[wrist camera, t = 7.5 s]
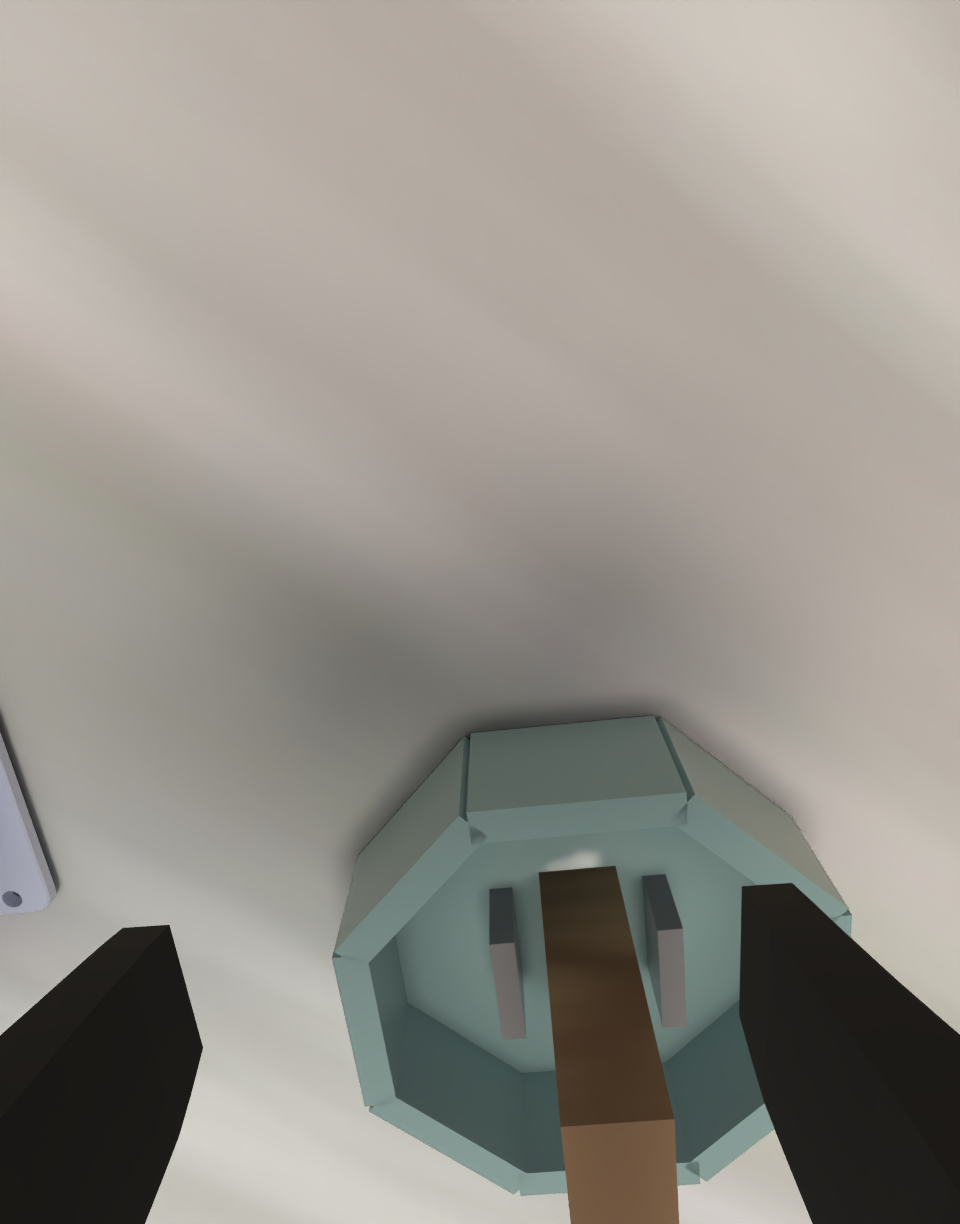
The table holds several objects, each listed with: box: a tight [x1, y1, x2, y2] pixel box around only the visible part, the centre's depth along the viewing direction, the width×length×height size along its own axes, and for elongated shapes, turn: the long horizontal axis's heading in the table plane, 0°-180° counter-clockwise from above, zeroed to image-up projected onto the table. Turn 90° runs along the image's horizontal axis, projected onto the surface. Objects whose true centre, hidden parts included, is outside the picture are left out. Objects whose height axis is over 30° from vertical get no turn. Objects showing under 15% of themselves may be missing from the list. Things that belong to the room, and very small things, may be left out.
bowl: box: [332, 715, 852, 1196], centre depth 20 cm, size 12×12×4 cm
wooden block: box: [539, 866, 679, 1224], centre depth 18 cm, size 2×4×7 cm, turn 6°
